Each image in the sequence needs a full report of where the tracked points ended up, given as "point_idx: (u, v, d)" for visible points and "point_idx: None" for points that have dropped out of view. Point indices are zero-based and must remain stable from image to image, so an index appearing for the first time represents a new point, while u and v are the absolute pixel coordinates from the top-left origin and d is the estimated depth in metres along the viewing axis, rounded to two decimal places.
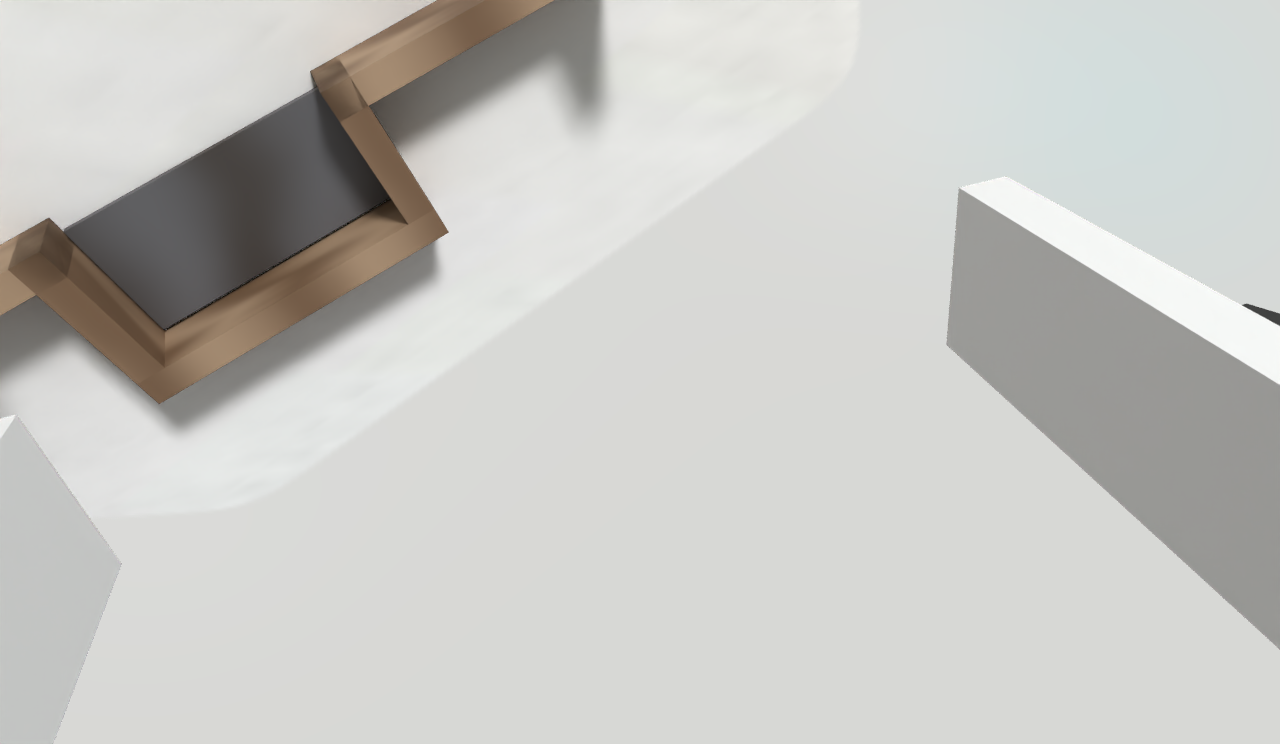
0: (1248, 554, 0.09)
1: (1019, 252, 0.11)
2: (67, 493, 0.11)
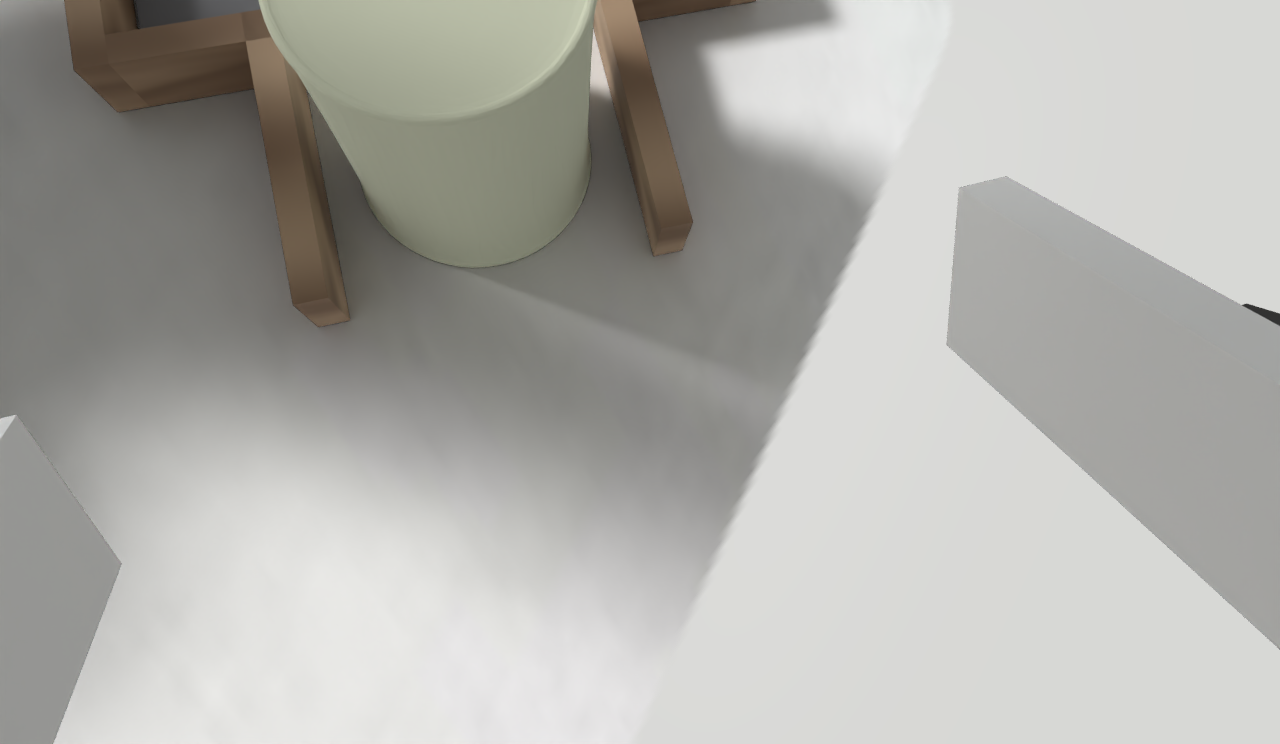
0: (1248, 554, 0.09)
1: (1018, 253, 0.11)
2: (67, 493, 0.11)
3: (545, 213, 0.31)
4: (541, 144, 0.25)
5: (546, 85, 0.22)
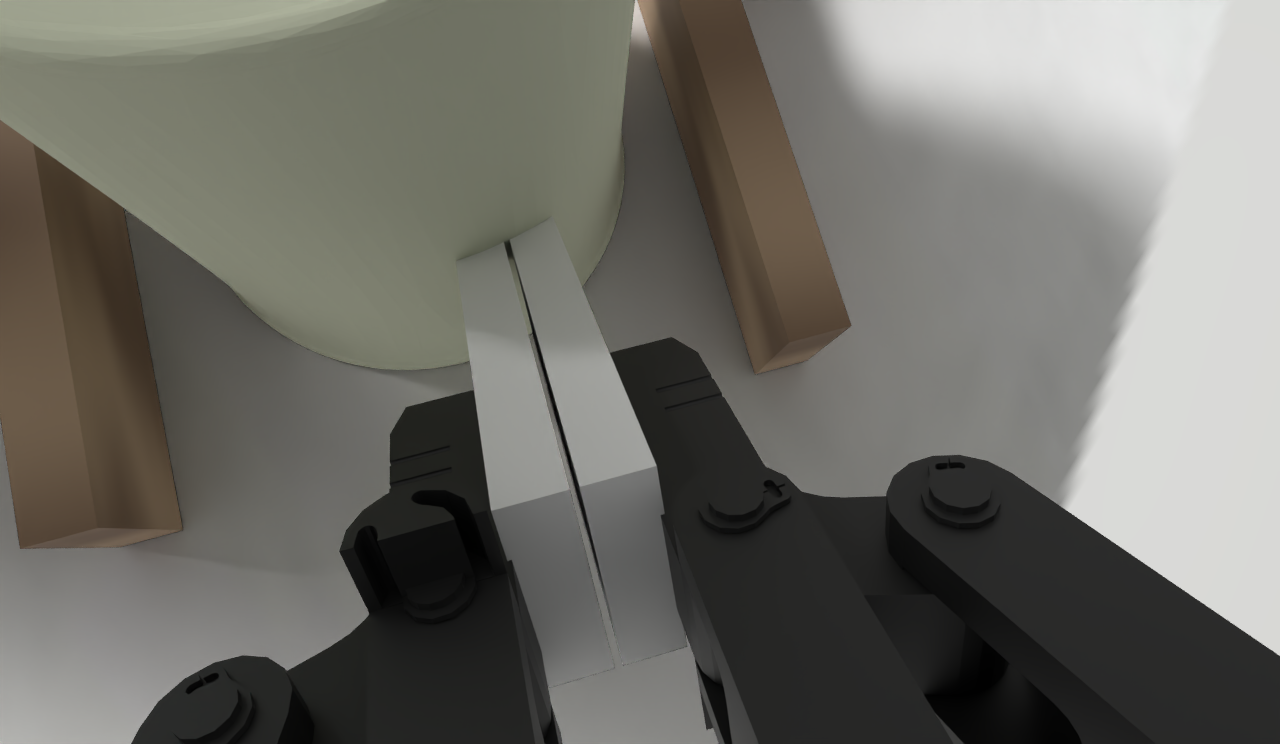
0: (597, 562, 0.10)
1: (522, 288, 0.12)
2: None
3: None
4: (532, 127, 0.10)
5: None
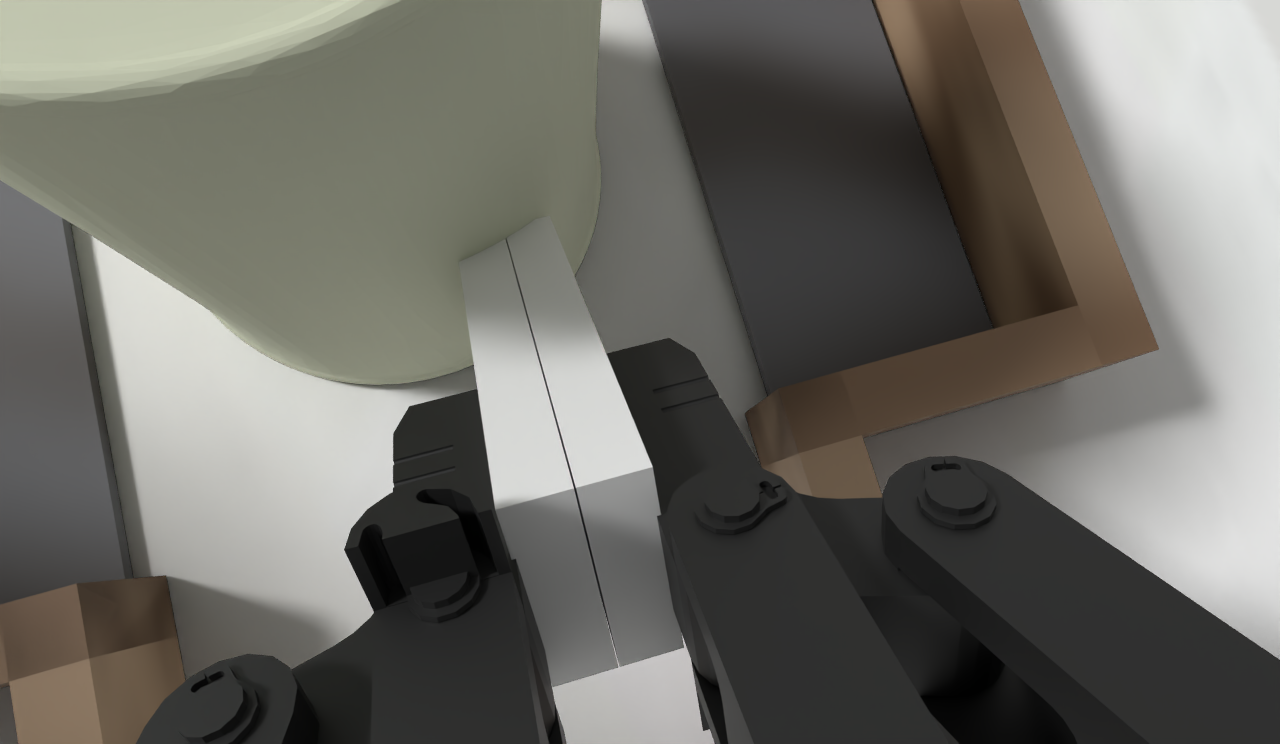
0: (593, 563, 0.10)
1: None
2: None
3: None
4: (513, 130, 0.10)
5: None
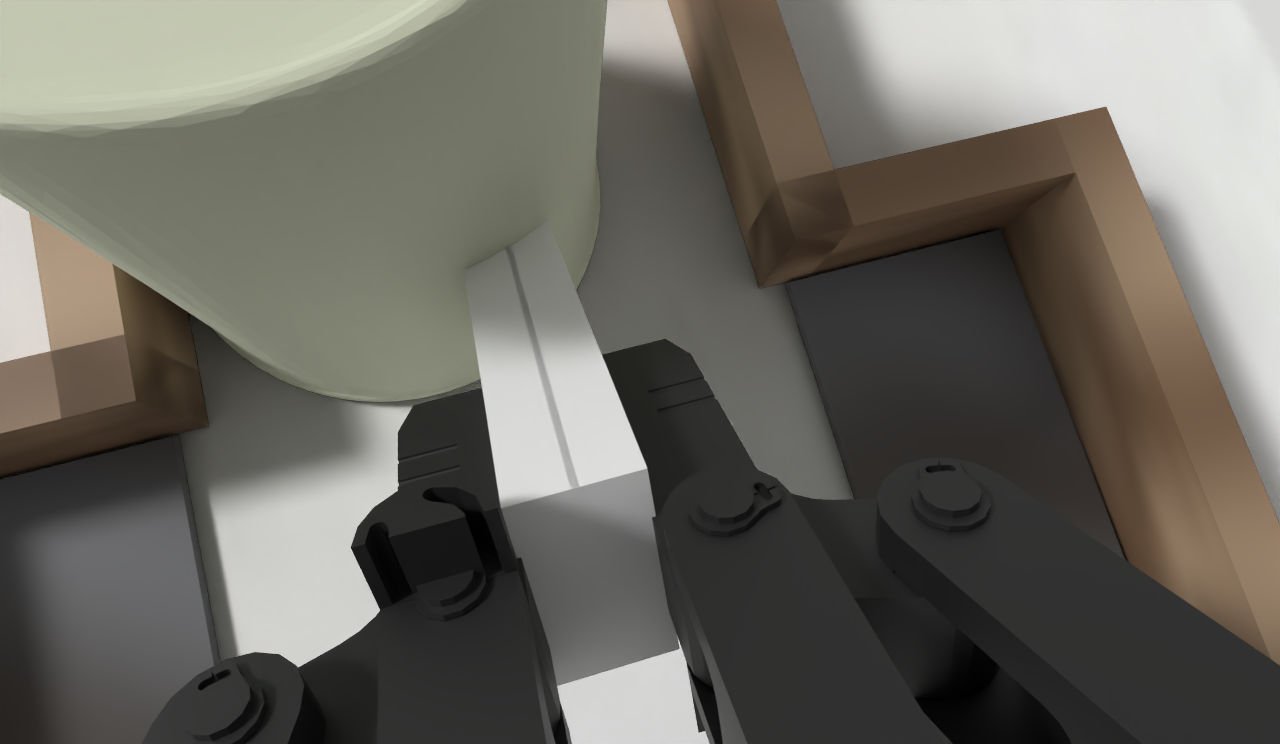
0: None
1: None
2: None
3: None
4: (537, 136, 0.10)
5: None
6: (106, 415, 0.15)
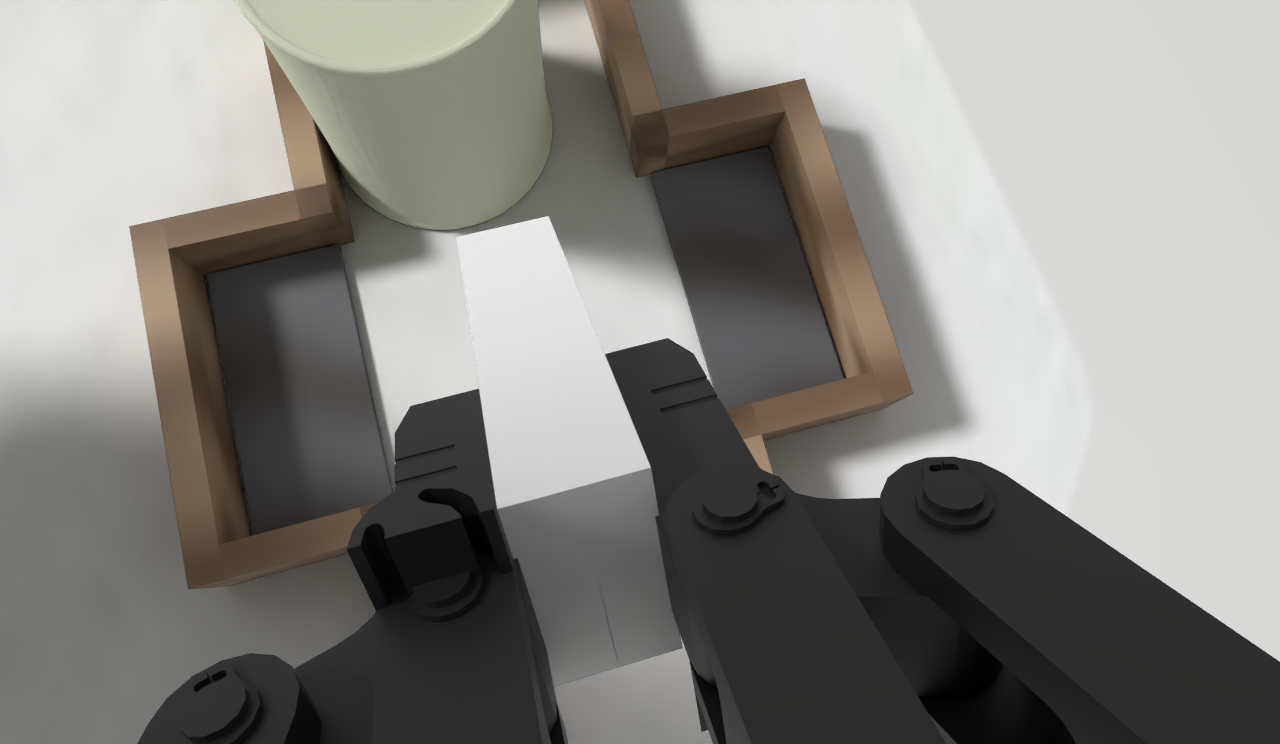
0: None
1: None
2: None
3: (519, 161, 0.33)
4: (507, 85, 0.27)
5: (504, 19, 0.24)
6: (317, 220, 0.32)
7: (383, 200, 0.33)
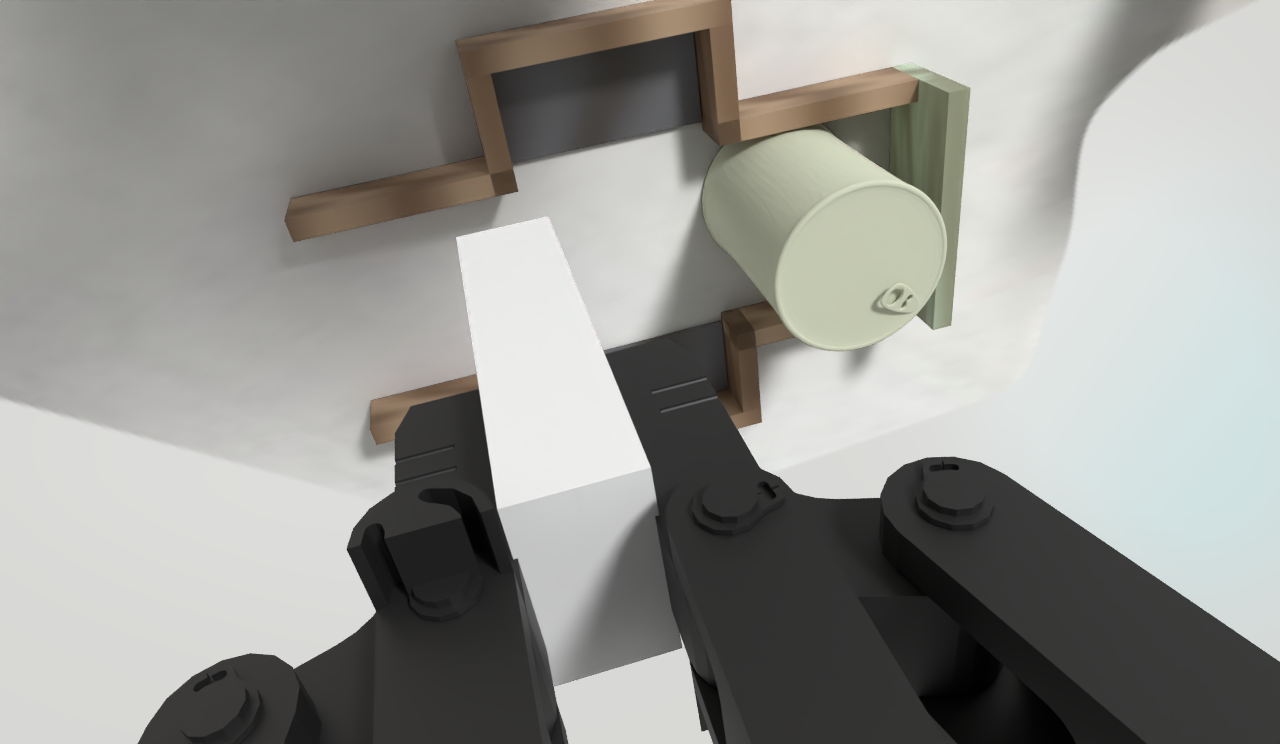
0: None
1: None
2: None
3: None
4: None
5: (796, 337, 0.42)
6: (716, 130, 0.45)
7: (726, 165, 0.47)
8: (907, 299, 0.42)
